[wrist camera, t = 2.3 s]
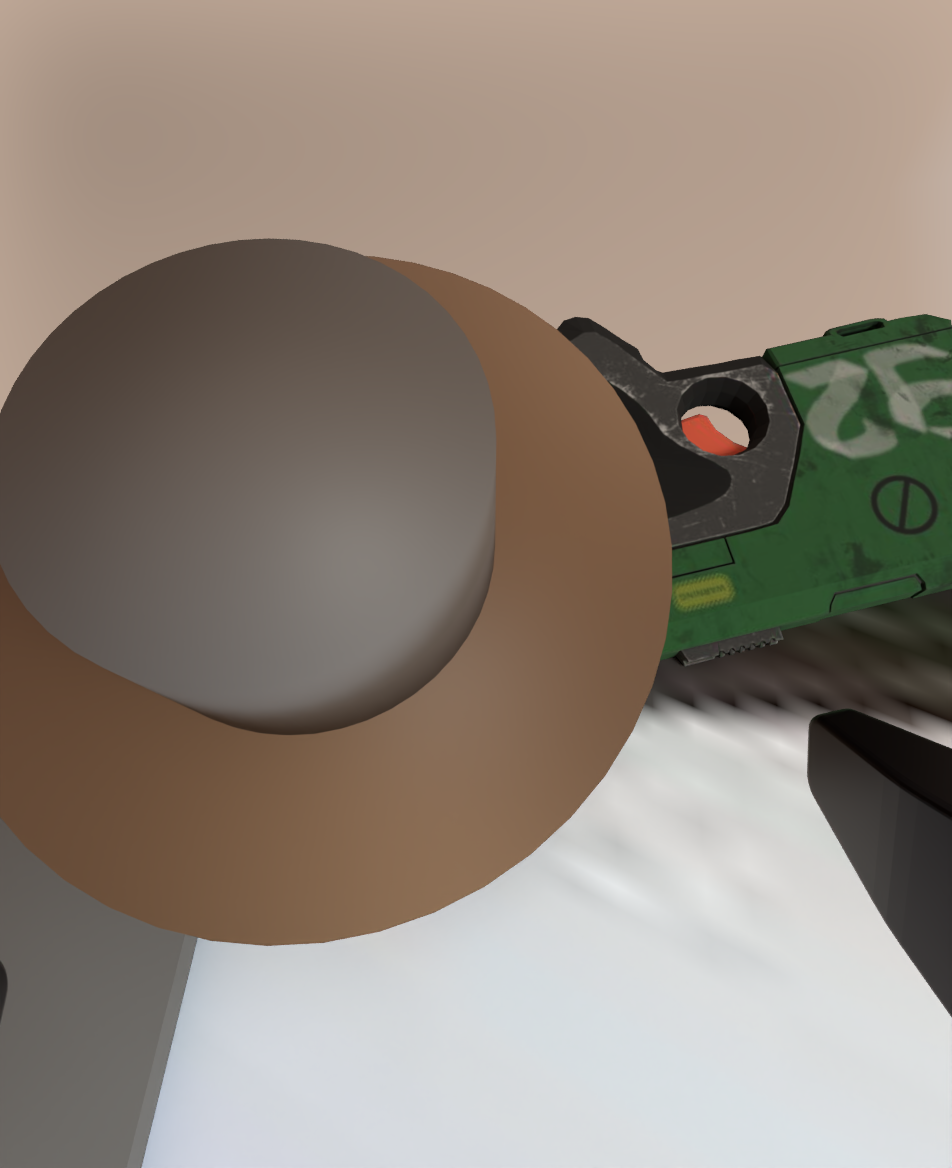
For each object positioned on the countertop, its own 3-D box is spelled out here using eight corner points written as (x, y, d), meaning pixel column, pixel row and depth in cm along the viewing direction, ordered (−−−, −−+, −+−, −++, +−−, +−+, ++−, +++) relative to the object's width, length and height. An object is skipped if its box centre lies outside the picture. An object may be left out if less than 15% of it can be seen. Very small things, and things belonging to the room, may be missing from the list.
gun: (975, 221, 21) (1167, 540, 18) (945, 259, 22) (1119, 562, 19) (409, 343, 20) (502, 704, 17) (415, 375, 22) (501, 714, 18)
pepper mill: (530, 892, 16) (718, 1089, 3) (307, 857, 17) (-475, 883, 3) (555, 670, 18) (748, 124, 4) (352, 642, 18) (-39, 55, 5)
